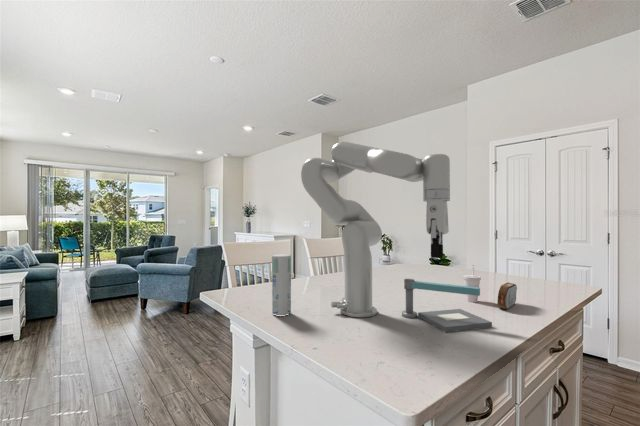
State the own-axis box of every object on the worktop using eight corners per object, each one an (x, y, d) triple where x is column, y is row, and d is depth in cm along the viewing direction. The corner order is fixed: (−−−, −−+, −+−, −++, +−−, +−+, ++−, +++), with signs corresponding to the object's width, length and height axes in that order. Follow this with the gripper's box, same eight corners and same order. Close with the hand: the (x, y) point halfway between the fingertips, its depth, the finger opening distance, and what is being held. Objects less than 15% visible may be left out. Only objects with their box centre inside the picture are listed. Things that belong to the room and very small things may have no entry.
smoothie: (484, 303, 119) (484, 266, 119) (467, 303, 119) (467, 266, 119) (476, 298, 125) (475, 263, 125) (460, 298, 125) (459, 263, 125)
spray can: (293, 315, 104) (292, 255, 105) (273, 317, 103) (273, 256, 103) (289, 310, 111) (289, 253, 111) (270, 312, 109) (270, 254, 109)
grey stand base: (431, 333, 88) (431, 302, 88) (399, 314, 106) (398, 287, 106) (491, 327, 93) (491, 297, 93) (451, 309, 111) (451, 284, 111)
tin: (509, 302, 120) (508, 280, 120) (518, 303, 118) (518, 281, 118) (496, 310, 110) (496, 286, 110) (506, 312, 108) (506, 287, 108)
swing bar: (403, 289, 104) (403, 280, 104) (405, 287, 106) (405, 278, 106) (479, 297, 92) (479, 287, 92) (480, 295, 95) (480, 285, 95)
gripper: (445, 194, 85) (446, 261, 85) (453, 197, 98) (453, 255, 98) (417, 195, 89) (418, 259, 89) (428, 198, 102) (429, 254, 102)
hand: (436, 257), depth 93 cm, fingers closed
